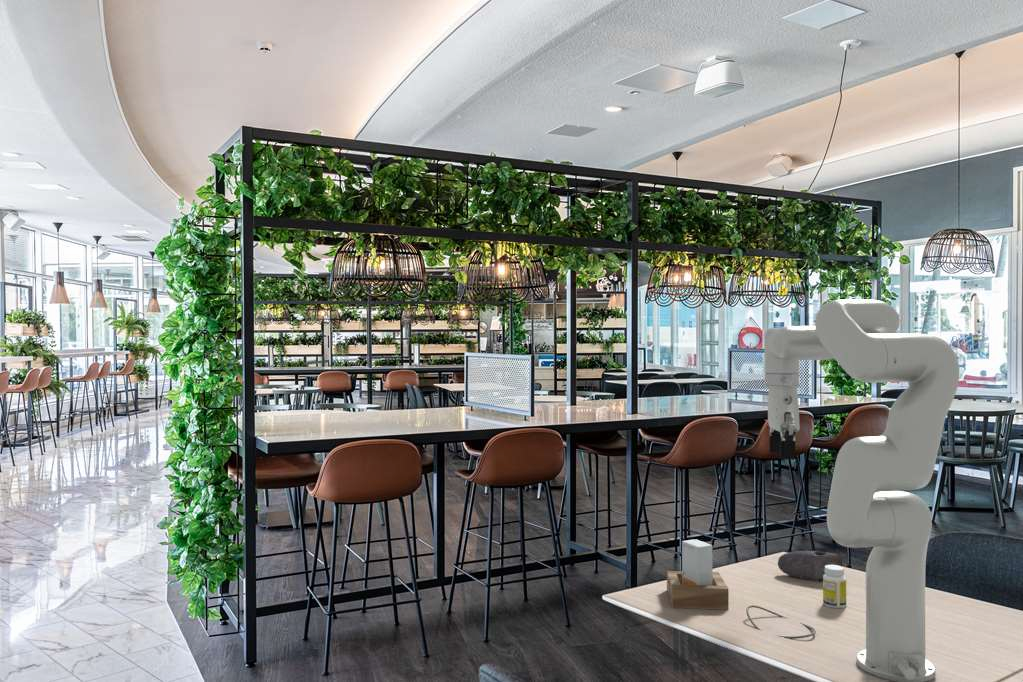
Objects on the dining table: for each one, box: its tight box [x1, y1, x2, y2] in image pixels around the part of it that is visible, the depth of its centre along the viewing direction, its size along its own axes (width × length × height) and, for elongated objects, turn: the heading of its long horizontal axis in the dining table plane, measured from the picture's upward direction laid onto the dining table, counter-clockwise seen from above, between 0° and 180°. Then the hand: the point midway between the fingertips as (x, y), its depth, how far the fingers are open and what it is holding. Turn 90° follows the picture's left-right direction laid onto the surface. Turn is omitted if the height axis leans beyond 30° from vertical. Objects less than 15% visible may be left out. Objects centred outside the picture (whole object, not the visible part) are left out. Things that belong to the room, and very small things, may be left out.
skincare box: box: [681, 538, 714, 586], centre depth 172 cm, size 6×4×12 cm
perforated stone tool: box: [777, 550, 844, 581], centre depth 188 cm, size 15×5×7 cm, turn 60°
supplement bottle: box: [822, 565, 847, 609], centre depth 169 cm, size 5×5×8 cm
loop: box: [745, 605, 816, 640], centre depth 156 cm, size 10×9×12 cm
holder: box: [666, 570, 729, 610], centre depth 173 cm, size 12×12×4 cm
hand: (782, 455), depth 175 cm, fingers open, 9 cm apart
